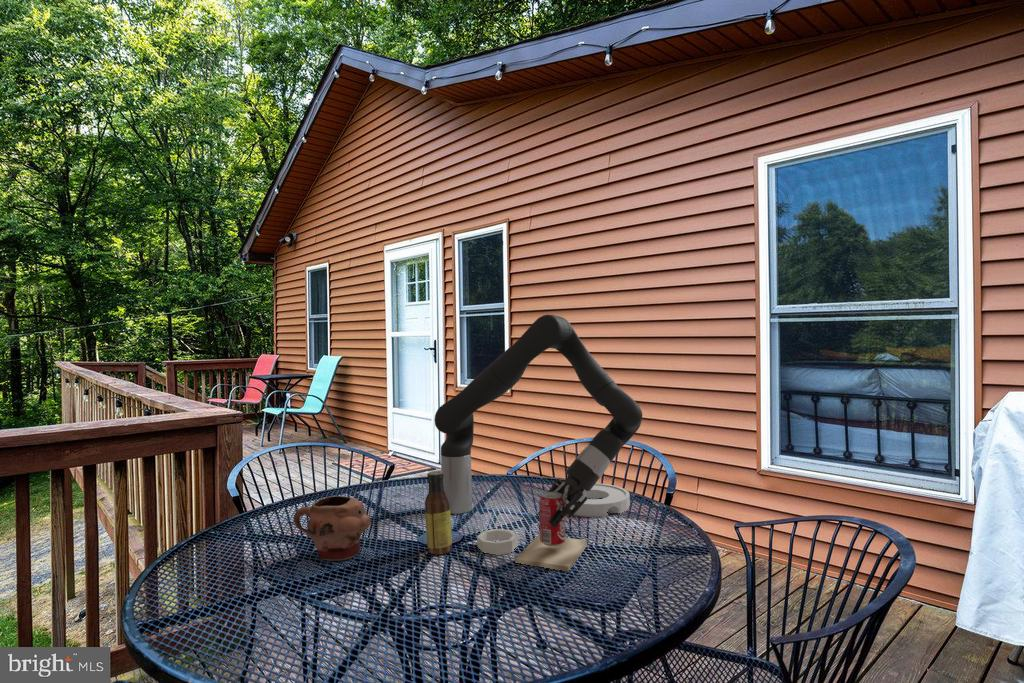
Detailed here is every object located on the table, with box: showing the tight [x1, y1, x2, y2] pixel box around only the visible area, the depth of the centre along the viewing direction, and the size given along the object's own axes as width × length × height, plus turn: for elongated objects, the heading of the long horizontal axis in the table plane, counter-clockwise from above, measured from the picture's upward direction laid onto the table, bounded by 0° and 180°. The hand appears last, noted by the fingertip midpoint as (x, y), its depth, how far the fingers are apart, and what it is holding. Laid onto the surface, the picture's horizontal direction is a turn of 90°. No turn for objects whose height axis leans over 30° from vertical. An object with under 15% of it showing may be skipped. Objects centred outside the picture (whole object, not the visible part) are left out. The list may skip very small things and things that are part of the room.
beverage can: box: [538, 491, 566, 546], centre depth 141 cm, size 6×6×12 cm
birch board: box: [514, 534, 588, 572], centre depth 141 cm, size 13×17×1 cm
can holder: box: [476, 528, 519, 556], centre depth 146 cm, size 10×10×3 cm
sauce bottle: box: [424, 470, 453, 556], centre depth 144 cm, size 6×6×20 cm
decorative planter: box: [292, 495, 372, 562], centre depth 143 cm, size 20×12×14 cm, turn 88°
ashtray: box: [565, 482, 631, 518], centre depth 180 cm, size 23×23×4 cm
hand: (546, 520), depth 141 cm, fingers closed on beverage can, 6 cm apart
